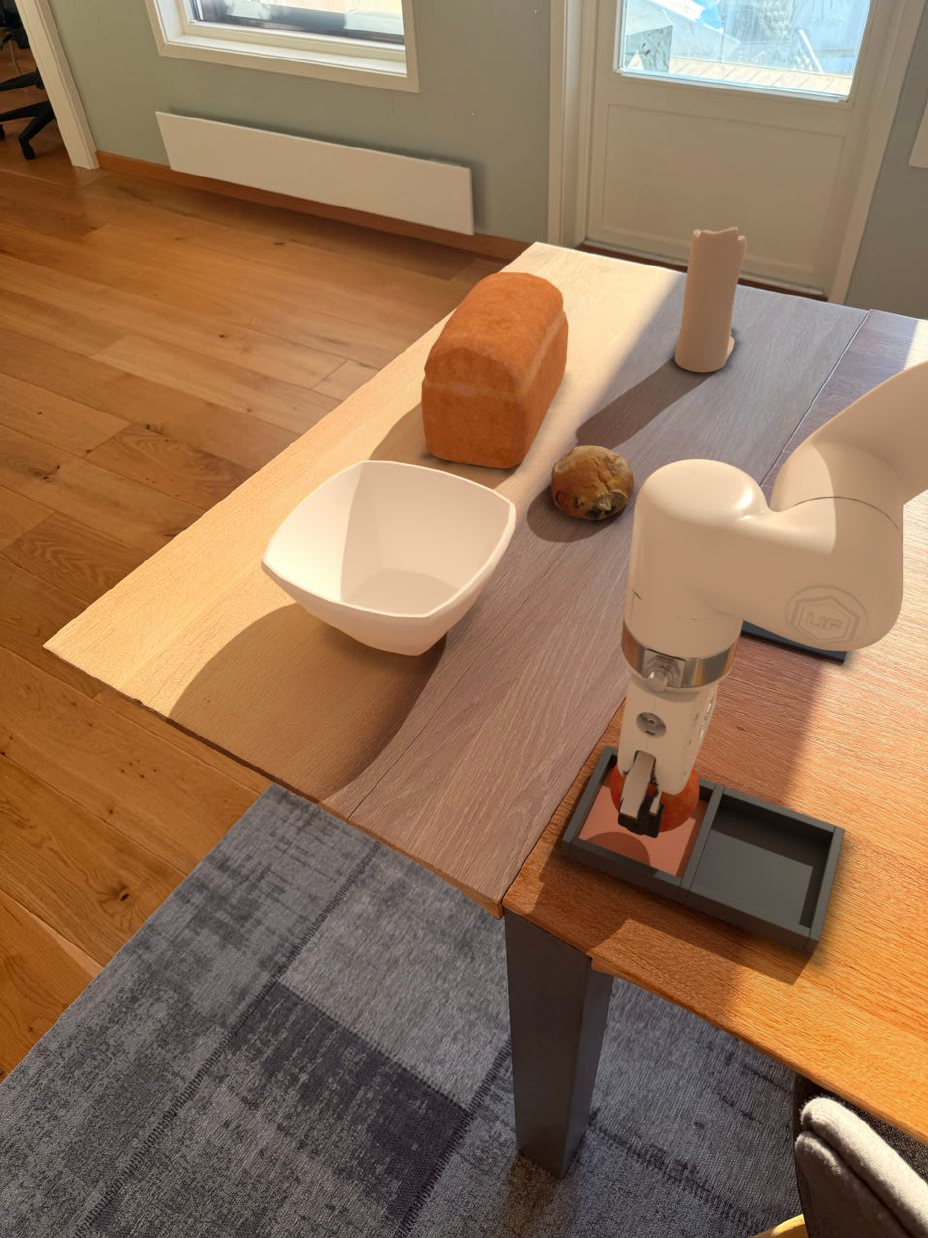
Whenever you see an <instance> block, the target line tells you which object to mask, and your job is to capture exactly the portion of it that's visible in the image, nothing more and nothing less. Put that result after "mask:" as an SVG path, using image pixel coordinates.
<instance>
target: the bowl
mask: <svg viewBox="0 0 928 1238" xmlns="http://www.w3.org/2000/svg"><path fill="white" fill-rule="evenodd" d="M516 521H517V509H516V505H515V504H514V503H513V502H512V500H510V499H508V498H507V497H505V496H504V495H502V494H500V493H499V492H498V491H496V490H494V489H492V488H490V487H488V486H485V485H482V484H480V483H478V482H476V481H474V480H470V479H468V478H465V477H463V476H460V475H455V474H453V473H450V472H447V471H444V470H439V469H436V468H432V467H426V466H422V465H418V464H411V463H405V462H398V461H394V460H393V461H392V460H365V459H364V460H360V461H358V462H356V463H354V464H351V465H349V466H348V467H346V468H344V469H342V470H340V471H338V472H337V473H335V474H333V476H331V477H330V478H328V479H327V480H326V481H324V482H323V483H321V484H320V485H319V486H317V488H315V489H314V490H313V491H312V492H310V493H309V494H308V495H307V496H306V497H305V498H304V499H302V500H301V501H300V502H299V503H298V504H297V505H296V507H294V509H293V510H292V511H291V512H289V514H288V515H287V517H286V518H284V520H283V521H282V522H281V523H280V525H279V527H278V528H277V529H276V531H275V532H274V533H273V535H272V536H271V538H270V539H269V541H268V542H267V544H266V545H267V546H266V548H265V551H264V554H263V556H262V559H261V561H260V562H261V563H260V567H261V571H262V572H263V573H265V575H267V576H268V577H269V578H270V579H271V580H272V581H273V582H274V583H275V584H276V585H277V586H278V587H279V588H280V589H281V590H283V591H284V592H285V593H286V594H287V595H288V596H289V597H290V598H291V599H292V600H294V601H295V602H296V603H297V604H298V605H300V607H301V608H303V609H304V610H305V611H306V612H307V613H308V614H310V615H312V616H313V617H315V618H317V619H319V620H320V621H322V622H324V623H325V624H327V625H329V626H331V627H333V628H335V629H338V630H339V631H341V632H343V633H344V634H346V635H348V636H349V637H351V638H353V639H354V640H356V641H358V642H359V643H362V644H364V645H366V646H367V647H371V648H373V649H377V650H381V651H385V652H389V653H394V654H399V655H404V656H414V657H415V656H416V657H417V656H421V655H423V654H424V653H425V652H427V651H428V650H429V649H430V648H432V647H433V646H434V645H435V644H436V643H437V642H438V641H440V640H441V639H442V638H443V637H444V636H445V634H446V633H447V632H448V631H449V630H451V628H452V627H454V626H455V625H456V624H457V623H458V622H459V621H460V620H462V619H463V617H464V616H465V615H466V614H467V612H468V611H469V610H470V609H471V608H472V607H473V605H474V604H475V603H476V601H477V600H478V598H479V596H480V595H481V593H482V591H483V590H484V588H485V586H486V584H487V583H488V581H489V579H490V577H491V576H492V574H493V573H494V571H495V569H496V568H497V566H498V564H499V563H500V561H501V559H502V557H503V556H504V554H505V552H506V551H507V549H508V547H509V545H510V542H511V540H512V538H513V535H514V532H515V530H516Z"/></svg>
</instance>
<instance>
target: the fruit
mask: <svg viewBox="0 0 928 1238" xmlns="http://www.w3.org/2000/svg"><path fill="white" fill-rule="evenodd" d="M653 770H655V766H654V769H653ZM626 776H627V775H625V776H624V777H622V776H621V774H620V772H619V770H618V762H617V764H616V765H615V767H614V770H613V772H612V776H611V781H610V792H611V797H612V801H613V803H614V806H615V808H616V810H617V811H618V813H619V805H620V797H621V793H622V791H623V788H624V784H625V780H626ZM698 777H699V776H698V774H697V770H696V769H695V766H694V765H693V768H692V770H691V773H690V775H689V778H688V780H687V783H686V785H685V787H684V789H683V790H682V791H681V792H680V793H678V794H676V795H672V794H669V793H665V792H663V796H662V799H661V803H662V804H663V805H664V810H663V815H662V820H661V826H660V831H659V832H666V831H670V830H673V829H675V828H677V827H679V826H681V825H682V824H683V823H684V822H686V821H687V820H688V818H689V817H690V816H691V815H692V813H693V811H694V809H695V807H696V805H697V802H698V798H699V781H698ZM655 787H656V785H654V784H651V783H649V785H648V788H647V791H646V794H648V795H651V796H653V795H654V791H655Z"/></svg>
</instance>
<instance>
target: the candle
mask: <svg viewBox="0 0 928 1238" xmlns="http://www.w3.org/2000/svg"><path fill="white" fill-rule="evenodd" d="M690 243H691V244H690V251H689V252H690V253H689V257H688V265H687V269H686V270H687V271H686V278H685V284H684V293H683V294H684V295H683V303H682V315H681V322H680V327H679V333H678V338H677V342H676V343H677V344H676V347H675V354H674V361H675V364H677V366H679V367H680V368H682V369H684V370H687V371H689V372H695V373H711V372H712V373H713V372H715V371H719V370H720V369H722V368H723V367H724V366H726V363H727V360H728V359H729V357H730V355H731V354H732V352H733V350H734V347H735V343H736V341H735V339H734V337H733V336H732V331H731V330H732V324H733V323H732V322H733V314H734V313H733V312H734V305H735V304H734V303H735V298H736V292H737V287H738V282H739V278H740V274H741V271H742V267H743V262H744V259H745V254H746V251H747V239H746V236H745V235H739V228H738V227H737V226H731V227H728V228H725V229H722V230H718V231H712V230H709V229H703V230H701V229H697V228H696V229H693V232H692V235H691V242H690Z"/></svg>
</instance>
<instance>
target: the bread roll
mask: <svg viewBox="0 0 928 1238" xmlns="http://www.w3.org/2000/svg"><path fill="white" fill-rule="evenodd" d="M550 474H551V475H550V476H551V479H550V480H551V481H550V487H551V489H550V490H551V491H550V492H551V494H552V501H553V504H554V506H556V508H558V510H559V511H561V512H562V513H563V514H564V515H566V516H568V517H571V518H574V519H579V520H587V521H593V520H597V521H600V520H603V519H606V518H609V517H611V516H613V515H615V514H617V513H618V512H620V511H621V510H622V509H624V507H625V506H626V505H627V504H628V503H629V502H630V501H631V500H632V497H633V493H634V485H635V481H634V473H633V470H632V467H631V465H630V464H629V462H628V461H627V460H626V459H625V458H623V456H621V455H620V454H618V453H617V452H615V451H613V450H611V449H609V448H606V447H605V446H601V445H600V446H599V445H578V446H576V447H573V448H571V449H570V450H568V451H567V452H565V453H564V454H562V456H561V457H560V458H559V459H557V461H556V462H555V463H554V464H553V466H552V468H551V473H550Z"/></svg>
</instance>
